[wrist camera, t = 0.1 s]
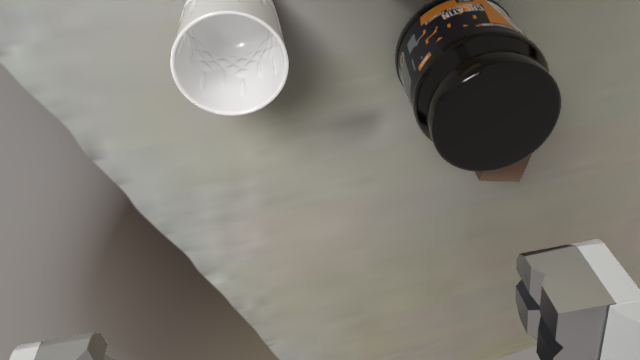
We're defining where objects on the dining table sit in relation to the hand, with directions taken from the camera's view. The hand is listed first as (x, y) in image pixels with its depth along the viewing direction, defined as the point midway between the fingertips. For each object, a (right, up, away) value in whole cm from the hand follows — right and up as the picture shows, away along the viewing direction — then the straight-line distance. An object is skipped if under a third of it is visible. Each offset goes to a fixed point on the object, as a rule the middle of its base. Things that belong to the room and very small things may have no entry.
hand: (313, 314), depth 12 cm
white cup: (-7, +17, +36) cm, 41 cm away
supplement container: (+12, +15, +41) cm, 45 cm away
